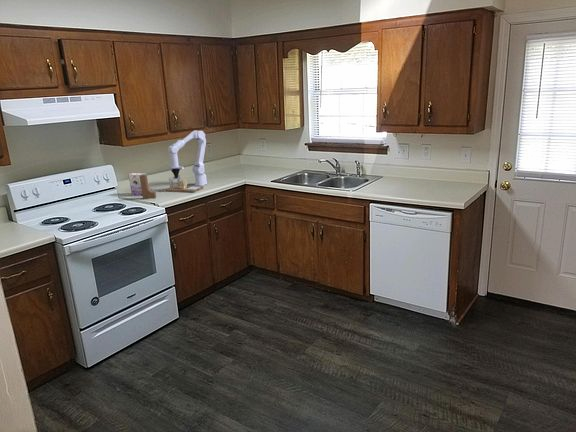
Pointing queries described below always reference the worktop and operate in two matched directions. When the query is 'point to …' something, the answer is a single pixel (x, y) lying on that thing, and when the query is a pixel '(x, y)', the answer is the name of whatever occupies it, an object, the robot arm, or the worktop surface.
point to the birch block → (183, 184)
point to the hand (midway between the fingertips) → (176, 178)
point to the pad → (192, 188)
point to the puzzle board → (177, 189)
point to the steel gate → (172, 181)
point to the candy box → (135, 183)
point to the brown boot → (146, 188)
